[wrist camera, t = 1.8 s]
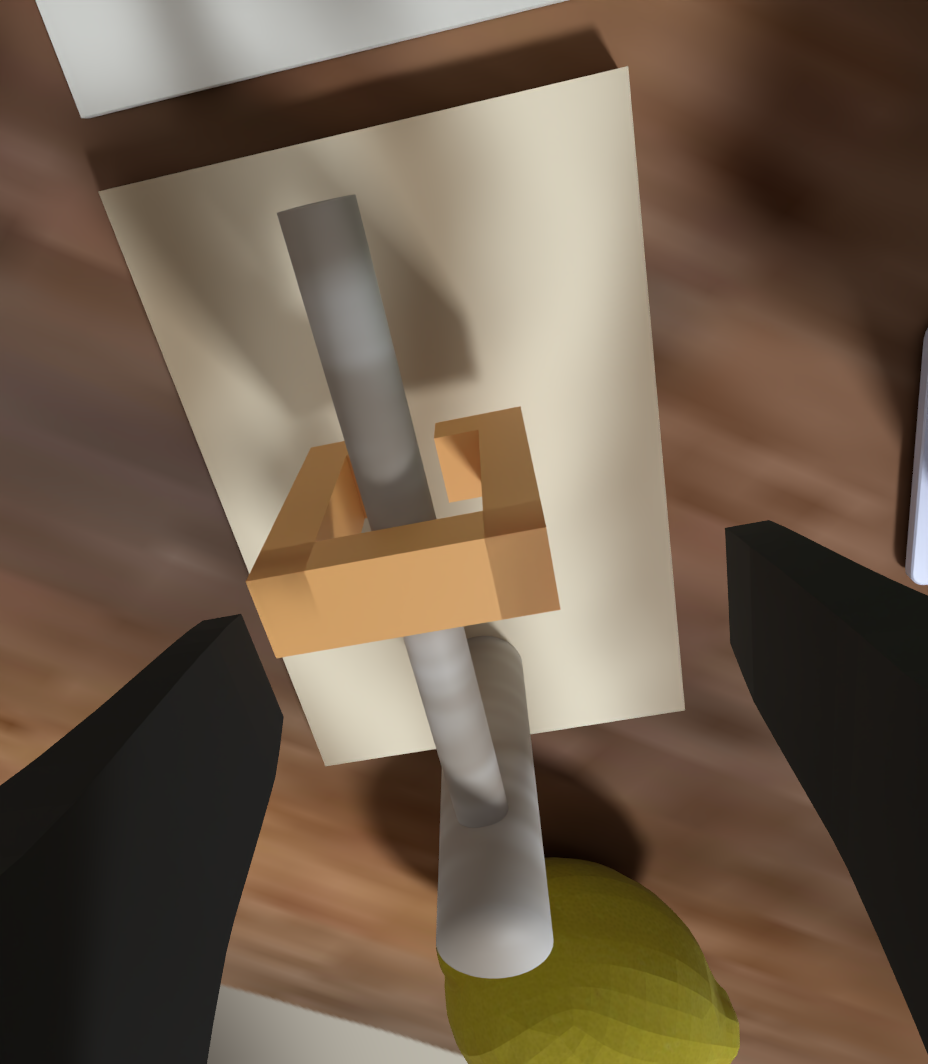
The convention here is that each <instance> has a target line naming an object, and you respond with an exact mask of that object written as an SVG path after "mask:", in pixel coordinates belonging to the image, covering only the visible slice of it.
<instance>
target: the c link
mask: <svg viewBox="0 0 928 1064" xmlns="http://www.w3.org/2000/svg"><path fill="white" fill-rule="evenodd" d="M434 441H435V445H436V450H437V454H438V458H439V462H440V466H441V471H442V475H443V479H444V483H445V487H446V492H447V496H448V500H449V503H451V502H456V501H461V500H467V499H472V498H477V497H482V505H483V511H479V512H473V513H468V514H462V515H457V516H451V517H446V518H441V519H435V520H430V521H424V522H419V523H414V524H408V525H403V526H398V527H392V528H387V529H381V530H376V531H370V532H365V533H361V532H362V528H363V524H364V520H365V518H367V515H366V511H365V508H364V505H363V501H362V498H361V495H360V491H359V488H358V485H357V481H356V478H355V474H354V471H353V468H352V464H351V461H350V458H349V454H348V451H347V448H346V444H345V441H342V442H337V443H331V444H326V445H321V446H316V447H311V448H310V450H309V452H308V454H307V457H306V459H305V461H304V463H303V465H302V467H301V469H300V471H299V473H298V475H297V477H296V479H295V481H294V483H293V485H292V487H291V489H290V492H289V494H288V496H287V498H286V500H285V502H284V504H283V506H282V508H281V510H280V512H279V514H278V516H277V518H276V520H275V522H274V524H273V527H272V529H271V531H270V533H269V535H268V537H267V539H266V541H265V543H264V545H263V547H262V549H261V551H260V553H259V555H258V557H257V559H256V562H255V564H254V566H253V568H252V570H251V572H250V574H249V576H248V578H247V580H246V584H247V586H248V589H249V591H250V594H251V596H252V599H253V601H254V604H255V606H256V609H257V611H258V614H259V616H260V619H261V621H262V624H263V626H264V629H265V631H266V634H267V636H268V639H269V641H270V644H271V646H272V649H273V651H274V654H275V656H276V658H281V657H287V656H293V655H299V654H305V653H311V652H316V651H322V650H328V649H334V648H340V647H346V646H352V645H357V644H363V643H369V642H375V641H381V640H387V639H393V638H398V637H404V636H410V635H416V634H422V633H428V632H434V631H439V630H445V629H451V628H457V627H463V626H469V625H475V624H480V623H486V622H492V621H498V620H504V619H510V618H516V617H521V616H527V615H533V614H539V613H545V612H551V611H557V610H561V609H560V603H559V597H558V592H557V586H556V580H555V574H554V569H553V563H552V557H551V551H550V546H549V540H548V534H547V528H546V524H545V519H544V514H543V509H542V505H541V500H540V495H539V491H538V486H537V481H536V477H535V472H534V467H533V463H532V458H531V453H530V448H529V444H528V439H527V434H526V430H525V425H524V420H523V416H522V411H521V406H519V407H514V408H509V409H504V410H499V411H494V412H489V413H484V414H479V415H473V416H468V417H463V418H458V419H453V420H448V421H443V422H438V423H435V431H434Z"/></svg>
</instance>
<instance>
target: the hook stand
mask: <svg viewBox="0 0 928 1064" xmlns="http://www.w3.org/2000/svg"><path fill="white" fill-rule="evenodd" d="M98 192H99V195H100V197H101V200H102V202H103V205H104V207H105V210H106V212H107V215H108V218H109V220H110V223H111V225H112V228H113V230H114V233H115V235H116V238H117V240H118V243H119V245H120V248H121V250H122V253H123V255H124V258H125V260H126V263H127V266H128V268H129V271H130V273H131V276H132V278H133V281H134V283H135V286H136V288H137V291H138V293H139V296H140V298H141V301H142V303H143V306H144V309H145V311H146V314H147V316H148V319H149V321H150V324H151V326H152V329H153V331H154V334H155V336H156V339H157V341H158V344H159V346H160V349H161V351H162V354H163V357H164V359H165V362H166V364H167V367H168V369H169V372H170V374H171V377H172V379H173V382H174V384H175V387H176V389H177V392H178V394H179V397H180V399H181V402H182V405H183V407H184V410H185V412H186V415H187V417H188V420H189V422H190V425H191V427H192V430H193V432H194V435H195V437H196V440H197V442H198V445H199V448H200V450H201V453H202V455H203V458H204V460H205V463H206V465H207V468H208V470H209V473H210V475H211V478H212V480H213V483H214V485H215V488H216V490H217V493H218V496H219V498H220V501H221V503H222V506H223V508H224V511H225V513H226V516H227V518H228V521H229V523H230V526H231V528H232V531H233V533H234V536H235V538H236V541H237V544H238V546H239V549H240V551H241V554H242V556H243V559H244V561H245V564H246V566H247V569H248V571H249V574H250V572H251V570H252V568H253V566H254V564H255V562H256V559H257V557H258V555H259V553H260V551H261V549H262V547H263V545H264V543H265V541H266V539H267V537H268V535H269V533H270V531H271V529H272V527H273V524H274V522H275V520H276V518H277V516H278V514H279V512H280V510H281V508H282V506H283V504H284V502H285V500H286V498H287V496H288V494H289V492H290V489H291V487H292V485H293V483H294V481H295V479H296V477H297V475H298V473H299V471H300V469H301V467H302V465H303V463H304V461H305V459H306V457H307V454H308V452H309V450H310V448H311V447H316V446H321V445H326V444H331V443H337V442H342V441H345V444H346V448H347V451H348V454H349V458H350V461H351V464H352V468H353V471H354V474H355V478H356V481H357V485H358V488H359V491H360V495H361V498H362V501H363V505H364V508H365V511H366V515H367V518H365V520H364V524H363V528H362V532H361V533H365V532H370V531H376V530H381V529H387V528H392V527H398V526H403V525H408V524H414V523H419V522H424V521H430V520H435V519H441V518H446V517H451V516H457V515H462V514H468V513H473V512H479V511H483V505H482V497H477V498H472V499H467V500H461V501H456V502H451V503H449V500H448V496H447V492H446V487H445V483H444V479H443V475H442V471H441V466H440V462H439V458H438V454H437V450H436V445H435V441H434V431H435V423H438V422H443V421H448V420H453V419H458V418H463V417H468V416H473V415H479V414H484V413H489V412H494V411H499V410H504V409H509V408H514V407H519V406H521V411H522V416H523V420H524V425H525V430H526V434H527V439H528V444H529V448H530V453H531V458H532V463H533V467H534V472H535V477H536V481H537V486H538V491H539V495H540V500H541V505H542V509H543V514H544V519H545V524H546V528H547V534H548V540H549V546H550V551H551V557H552V563H553V569H554V574H555V580H556V586H557V592H558V597H559V603H560V609H561V610H557V611H551V612H545V613H539V614H533V615H527V616H521V617H516V618H510V619H504V620H498V621H492V622H486V623H480V624H475V625H469V626H463V627H457V628H451V629H445V630H439V631H434V632H428V633H422V634H416V635H410V636H404V637H398V638H393V639H387V640H381V641H375V642H369V643H363V644H357V645H352V646H346V647H340V648H334V649H328V650H322V651H316V652H311V653H305V654H299V655H293V656H287V657H283V660H284V662H285V665H286V667H287V670H288V672H289V675H290V677H291V680H292V683H293V685H294V688H295V690H296V693H297V695H298V698H299V700H300V703H301V705H302V708H303V710H304V713H305V715H306V718H307V720H308V723H309V726H310V728H311V731H312V733H313V736H314V738H315V741H316V743H317V746H318V748H319V751H320V753H321V756H322V758H323V761H324V763H325V766H329V765H336V764H342V763H349V762H355V761H362V760H368V759H374V758H381V757H387V756H394V755H400V754H407V753H413V752H419V751H426V750H432V749H436V750H437V753H438V756H439V760H440V763H441V766H442V780H441V810H440V840H439V870H438V901H437V931H436V946H437V950H438V953H439V955H440V956H441V958H442V959H443V960H444V961H445V962H446V963H447V964H448V965H449V966H451V967H452V968H454V969H455V970H457V971H459V972H462V973H464V974H467V975H470V976H475V977H480V978H490V979H492V978H507V977H513V976H517V975H520V974H523V973H526V972H528V971H530V970H532V969H534V968H536V967H537V966H539V965H540V964H541V963H543V962H544V961H545V960H546V958H547V957H548V956H549V954H550V952H551V950H552V947H553V931H552V923H551V914H550V905H549V896H548V887H547V878H546V869H545V860H544V851H543V843H542V834H541V825H540V816H539V807H538V798H537V789H536V780H535V772H534V763H533V754H532V745H531V736H530V734H535V733H541V732H548V731H554V730H561V729H567V728H573V727H580V726H586V725H593V724H599V723H606V722H612V721H618V720H625V719H631V718H638V717H644V716H651V715H657V714H663V713H670V712H676V711H683V710H685V706H684V695H683V684H682V672H681V661H680V650H679V638H678V627H677V616H676V604H675V593H674V582H673V570H672V559H671V548H670V536H669V525H668V514H667V502H666V491H665V480H664V469H663V457H662V446H661V435H660V423H659V412H658V401H657V389H656V378H655V367H654V355H653V344H652V333H651V321H650V310H649V299H648V287H647V276H646V265H645V253H644V242H643V231H642V219H641V208H640V197H639V185H638V174H637V163H636V151H635V140H634V129H633V117H632V106H631V95H630V83H629V72H628V66H627V67H623V68H618V69H614V70H610V71H606V72H602V73H597V74H593V75H589V76H585V77H580V78H576V79H572V80H568V81H563V82H559V83H555V84H551V85H547V86H542V87H538V88H534V89H530V90H525V91H521V92H517V93H513V94H509V95H504V96H500V97H496V98H492V99H487V100H483V101H479V102H475V103H470V104H466V105H462V106H458V107H454V108H449V109H445V110H441V111H437V112H432V113H428V114H424V115H420V116H416V117H411V118H407V119H403V120H399V121H394V122H390V123H386V124H382V125H377V126H373V127H369V128H365V129H361V130H356V131H352V132H348V133H344V134H339V135H335V136H331V137H327V138H323V139H318V140H314V141H310V142H306V143H301V144H297V145H293V146H289V147H284V148H280V149H276V150H272V151H268V152H263V153H259V154H255V155H251V156H246V157H242V158H238V159H234V160H230V161H225V162H221V163H217V164H213V165H208V166H204V167H200V168H196V169H191V170H187V171H183V172H179V173H175V174H170V175H166V176H162V177H158V178H153V179H149V180H145V181H141V182H137V183H132V184H128V185H124V186H120V187H115V188H111V189H107V190H103V191H98Z"/></svg>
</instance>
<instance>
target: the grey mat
mask: <svg viewBox="0 0 928 1064" xmlns="http://www.w3.org/2000/svg"><path fill="white" fill-rule="evenodd" d="M563 1H567V0H36V3H37V5H38V8H39V11H40V13H41V16H42V18H43V21H44V23H45V26H46V29H47V31H48V34H49V36H50V39H51V41H52V44H53V47H54V49H55V52H56V54H57V57H58V59H59V62H60V65H61V67H62V70H63V72H64V75H65V77H66V80H67V83H68V85H69V88H70V90H71V93H72V95H73V98H74V101H75V103H76V106H77V108H78V111H79V113H80V116H81V118H93V117H97V116H101V115H105V114H109V113H113V112H117V111H121V110H125V109H129V108H133V107H137V106H141V105H145V104H149V103H153V102H158V101H162V100H166V99H170V98H174V97H178V96H182V95H186V94H190V93H194V92H198V91H202V90H206V89H210V88H214V87H218V86H222V85H226V84H231V83H235V82H239V81H243V80H247V79H251V78H255V77H259V76H263V75H267V74H271V73H275V72H279V71H283V70H287V69H291V68H295V67H299V66H304V65H308V64H312V63H316V62H320V61H324V60H328V59H332V58H336V57H340V56H344V55H348V54H352V53H356V52H360V51H364V50H368V49H372V48H377V47H381V46H385V45H389V44H393V43H397V42H401V41H405V40H409V39H413V38H417V37H421V36H425V35H429V34H433V33H437V32H441V31H445V30H450V29H454V28H458V27H462V26H466V25H470V24H474V23H478V22H482V21H486V20H490V19H494V18H498V17H502V16H506V15H510V14H514V13H518V12H523V11H527V10H531V9H535V8H539V7H543V6H547V5H551V4H555V3H559V2H563Z"/></svg>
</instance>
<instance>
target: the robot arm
mask: <svg viewBox="0 0 928 1064" xmlns="http://www.w3.org/2000/svg"><path fill="white" fill-rule="evenodd" d="M725 535H726V557H727V579H728V601H729V623H730V644H731V646H732V649H733V651H734V654H735V657H736V659H737V662H738V664H739V667H740V669H741V672H742V674H743V677H744V679H745V682H746V684H747V686H748V689H749V691H750V694H751V696H752V698H753V701H754V703H755V705H756V706H757V708H758V710H759V712H760V714H761V715H762V717H763V719H764V721H765V722H766V724H767V726H768V728H769V730H770V731H771V733H772V735H773V737H774V738H775V740H776V742H777V744H778V745H779V747H780V749H781V751H782V752H783V754H784V756H785V758H786V759H787V761H788V763H789V764H790V766H791V768H792V770H793V771H794V773H795V775H796V777H797V778H798V780H799V782H800V784H801V785H802V787H803V789H804V790H805V792H806V794H807V796H808V797H809V799H810V801H811V803H812V804H813V806H814V808H815V810H816V811H817V813H818V815H819V816H820V818H821V820H822V822H823V823H824V825H825V827H826V829H827V830H828V832H829V834H830V836H831V838H832V839H833V841H834V843H835V845H836V847H837V849H838V851H839V853H840V855H841V857H842V859H843V861H844V862H845V864H846V866H847V868H848V871H849V873H850V875H851V877H852V880H853V882H854V884H855V886H856V888H857V891H858V893H859V895H860V897H861V900H862V902H863V904H864V906H865V908H866V911H867V913H868V915H869V917H870V920H871V922H872V924H873V926H874V929H875V931H876V933H877V935H878V937H879V940H880V942H881V944H882V947H883V949H884V951H885V954H886V956H887V958H888V961H889V963H890V965H891V968H892V970H893V972H894V975H895V977H896V979H897V982H898V984H899V986H900V989H901V991H902V993H903V996H904V998H905V1000H906V1003H907V1005H908V1008H909V1010H910V1012H911V1015H912V1017H913V1019H914V1022H915V1024H916V1026H917V1029H918V1031H919V1034H920V1036H921V1039H922V1041H923V1044H924V1046H925V1049H926V1051H927V1054H928V596H927V595H925V594H923V593H920V592H918V591H916V590H913V589H911V588H909V587H907V586H904V585H902V584H900V583H898V582H896V581H893V580H891V579H889V578H887V577H885V576H883V575H880V574H878V573H876V572H874V571H872V570H870V569H868V568H866V567H864V566H862V565H860V564H858V563H856V562H854V561H852V560H850V559H848V558H846V557H843V556H841V555H839V554H838V553H836V552H834V551H832V550H830V549H828V548H826V547H824V546H822V545H820V544H818V543H816V542H814V541H812V540H810V539H808V538H806V537H804V536H802V535H800V534H798V533H796V532H794V531H792V530H790V529H788V528H786V527H784V526H781V525H779V524H777V523H774V522H772V521H770V520H767V521H762V522H756V523H750V524H745V525H739V526H734V527H728V528H725ZM905 570H906V574H907V575H908V576H909V577H910V578H911V579H912V580H913V581H914V582H915V583H917V584H919V585H928V329H927V330H926V332H925V336H924V341H923V353H922V366H921V378H920V391H919V403H918V416H917V428H916V441H915V453H914V466H913V478H912V490H911V503H910V515H909V528H908V540H907V553H906V565H905ZM282 725H283V714H282V712H281V710H280V707H279V705H278V702H277V700H276V697H275V695H274V693H273V690H272V688H271V685H270V683H269V680H268V678H267V676H266V673H265V671H264V668H263V666H262V663H261V661H260V659H259V656H258V654H257V651H256V649H255V646H254V644H253V642H252V639H251V637H250V634H249V632H248V629H247V627H246V625H245V622H244V620H243V617H242V615H241V614H238V615H233V616H227V617H221V618H216V619H210V620H204V621H202V622H200V623H199V624H198V625H196V626H195V627H193V628H192V629H191V630H189V631H188V632H187V633H185V634H184V635H183V636H182V637H180V638H179V639H178V640H177V641H176V642H174V643H173V644H172V645H171V646H170V647H168V648H167V649H166V650H165V651H164V652H163V653H161V654H160V655H159V656H158V657H157V658H156V659H155V660H153V661H152V662H151V663H150V664H149V665H148V666H147V667H145V668H144V669H143V670H142V671H141V672H140V673H139V674H137V675H136V676H135V677H134V678H133V679H132V680H130V681H129V682H128V683H127V684H126V685H125V686H124V687H122V688H121V689H120V690H119V691H118V692H117V693H116V694H114V695H113V696H112V697H111V698H110V699H109V700H108V701H106V702H105V703H104V704H103V705H102V706H101V707H99V708H98V709H97V710H96V711H95V712H93V713H92V714H91V715H90V716H88V717H87V718H86V719H85V720H84V721H82V722H81V723H80V724H79V725H77V726H76V727H75V728H74V729H72V730H71V731H70V732H69V733H68V734H66V735H65V736H64V737H63V738H61V739H60V740H59V741H58V742H56V743H55V744H54V745H53V746H52V747H50V748H49V749H48V750H47V751H45V752H44V753H43V754H42V755H41V756H39V757H38V758H37V759H35V760H34V761H33V762H31V763H30V764H29V765H27V766H26V767H25V768H24V769H22V770H21V771H19V772H18V773H17V774H15V775H14V776H13V777H11V778H10V779H9V780H7V781H6V782H5V783H3V784H2V785H0V1064H207V1059H208V1053H209V1047H210V1040H211V1034H212V1027H213V1021H214V1016H215V1011H216V1005H217V1000H218V994H219V989H220V984H221V978H222V973H223V967H224V962H225V956H226V951H227V947H228V943H229V939H230V935H231V931H232V927H233V923H234V919H235V915H236V912H237V909H238V905H239V902H240V898H241V895H242V891H243V888H244V885H245V881H246V878H247V874H248V871H249V868H250V864H251V861H252V857H253V854H254V850H255V847H256V844H257V840H258V837H259V833H260V830H261V827H262V823H263V820H264V816H265V812H266V809H267V805H268V802H269V798H270V795H271V791H272V787H273V784H274V780H275V775H276V769H277V763H278V756H279V750H280V742H281V734H282Z"/></svg>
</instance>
